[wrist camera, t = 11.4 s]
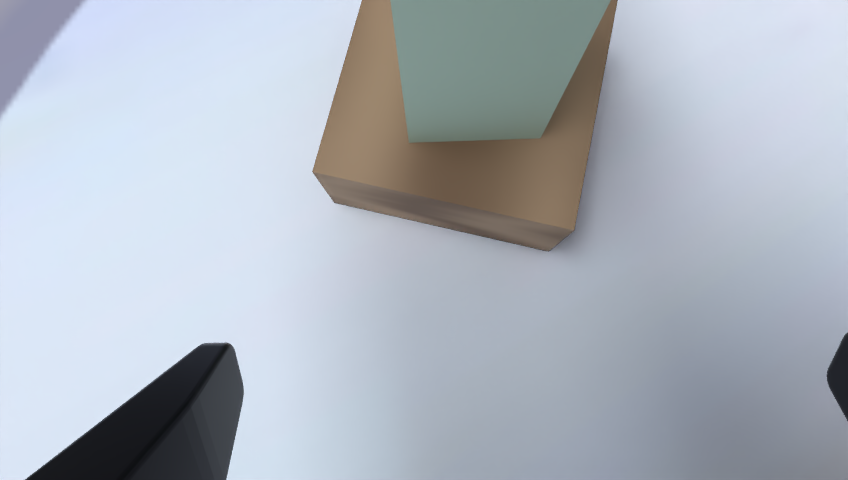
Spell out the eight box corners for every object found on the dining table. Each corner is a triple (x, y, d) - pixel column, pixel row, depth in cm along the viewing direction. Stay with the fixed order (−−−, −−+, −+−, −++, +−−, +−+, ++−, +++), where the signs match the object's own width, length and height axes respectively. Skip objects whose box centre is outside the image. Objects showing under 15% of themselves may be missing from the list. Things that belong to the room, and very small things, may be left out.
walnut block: (587, 52, 23) (619, -8, 19) (548, 251, 21) (574, 230, 17) (387, 12, 24) (377, -54, 20) (334, 202, 22) (312, 171, 18)
